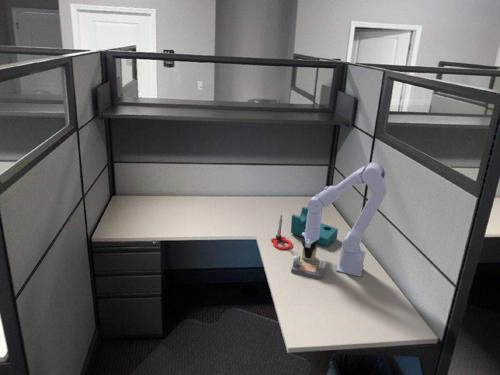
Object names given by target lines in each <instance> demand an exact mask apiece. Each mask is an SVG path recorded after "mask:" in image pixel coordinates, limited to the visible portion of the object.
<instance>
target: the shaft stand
mask: <svg viewBox="0 0 500 375" xmlns="http://www.w3.org/2000/svg"><path fill="white" fill-rule="evenodd" d="M301 259H302V255H300V254H299V255H294V257H293V263H292V267H291V270H290V272H291V273H293V274H297V275H301V276H305V277H309V278H314V279H317V280H321V281H323V278H324V275H325V272H326V266H327V264H326V262H323V260H320V261H319V264H313V263H309V262H305V261H301Z"/></svg>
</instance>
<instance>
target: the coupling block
mask: <svg viewBox="0 0 500 375" xmlns="http://www.w3.org/2000/svg"><path fill="white" fill-rule="evenodd" d="M317 248H318V247H317V246H316V247H315V249H314V250H313V253H312V256H311V258H310V259H309V258H305V251H304V247H303V246H302V253H301V259H302V260H305V261H308V262H313V263H314V262H315V259H316V256H317V250H318V249H317Z"/></svg>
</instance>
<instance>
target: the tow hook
mask: <svg viewBox="0 0 500 375" xmlns="http://www.w3.org/2000/svg"><path fill="white" fill-rule="evenodd" d="M278 221H279V222H278V230H277V234H275V237H273V238H270V241H271V242H272V246H273V247H275V248H276V249H278V250H281V251H288V250H291V249H292V248H293V246H294V244H293V242H292V241H291V240H289V239H287V238H286V236H282V226H283V214H280V218H279V220H278ZM279 242H283V243H287V244H288V245H287V246H280V245H278V243H279Z"/></svg>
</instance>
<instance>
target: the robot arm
mask: <svg viewBox="0 0 500 375" xmlns="http://www.w3.org/2000/svg"><path fill="white" fill-rule="evenodd" d="M386 180H387V179H386V171H385V169H384V167H383V166H382V164H381V163H379V162H378V161H371V162H368V163H367V164H366V165H363V166H362V167H360V168H359V169H357V170H355V171H353V172H352V173H351V174H350V175H349V176H347V177H346V178H345V179H344V180H342V181H341V182H339V183H337V185H330V186H328V185H327V186H325V187H324V190H322V191H321V192H319V193H316V194H315V195H314V196H312V197H311V199H310V200H309V201H308V202H307V204H306V205H307V206H306V208H307V209H308V214H307V221H306V229H305V232H303V233H302V236H304V240H303V241H302V244H301V245H302V248H303V247H304V251H305V258H309V259H310V258H311V256H312V253H313V250H314V249H315V247H317V244H318V243H317V242H318V240H319V239H320V237H319V233H320V226H321V223H322V219H323V209H324V208H326V207H328V206H329V205H331V204H332V203H334V202H335V201H337V200H338V199H339V198H340V197H341V193H344V191H346V190H348V189H349V188H351V187H353V186H354V185H356V184H359V185H364V184H365V185H366V186H367V187H368V188H369V189H370V192H371V194H370V196H369V198H368V200H367V202H366V203H365V205H364V207H363V208H362V211H361V213H360V214H359V216H358V218H357V220H356V221H355V224H353V226H352V228H351V229H349V230H348V231H347V233H346V235H345V237H344V239H343V240H342V243H341V249H340V254H339V256H340V257H339V260H338V263H337V266H336V269H335V271H336V272H340V273H344V274H347V275H352V276H355V277H356V276H357V277H361V276H362V272H363V269H364V261H365V257H366V251H364V250H362V248H361V246H360V245H361V243H362V241H363V237H364V236H363V235H364V234H365V232H366V230H367V228H368V227H369V225H370V223H371V221H372V220H373V218H374V217H375V214H376V213H377V211H378V209H379V207H380V205H381V204H382V202H383V201H384V199H385V198H386V195H387V191H388V189H387V181H386Z"/></svg>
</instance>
